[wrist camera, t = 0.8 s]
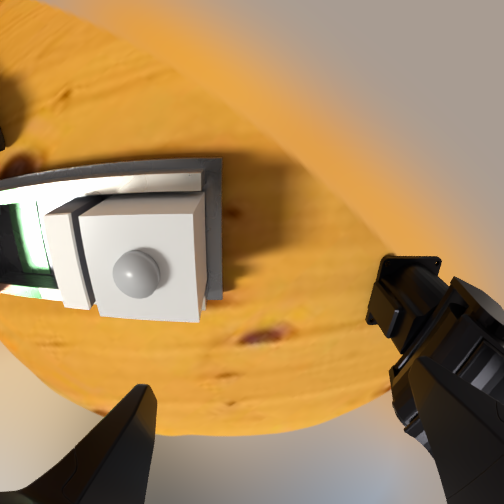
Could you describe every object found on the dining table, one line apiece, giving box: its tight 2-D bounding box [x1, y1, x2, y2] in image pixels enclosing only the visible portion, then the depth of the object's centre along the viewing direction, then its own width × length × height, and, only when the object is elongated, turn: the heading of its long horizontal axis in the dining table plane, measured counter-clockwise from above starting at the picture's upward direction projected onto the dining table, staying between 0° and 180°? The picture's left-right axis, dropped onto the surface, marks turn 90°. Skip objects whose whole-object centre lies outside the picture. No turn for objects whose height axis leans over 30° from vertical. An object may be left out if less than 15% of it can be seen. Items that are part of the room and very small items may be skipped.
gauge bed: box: [0, 157, 223, 310], centre depth 16 cm, size 24×10×6 cm, turn 88°
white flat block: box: [42, 195, 102, 310], centre depth 16 cm, size 2×6×4 cm, turn 178°
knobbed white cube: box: [78, 192, 207, 322], centre depth 15 cm, size 6×6×5 cm
